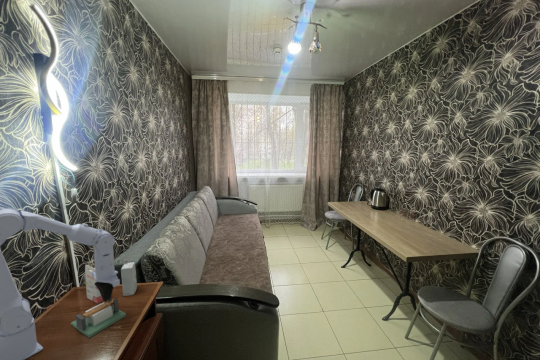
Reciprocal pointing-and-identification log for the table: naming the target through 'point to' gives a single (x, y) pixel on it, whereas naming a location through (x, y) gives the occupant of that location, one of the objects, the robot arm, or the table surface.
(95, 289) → the ink cartridge box
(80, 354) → the table surface
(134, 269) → the skincare box
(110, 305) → the strap
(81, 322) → the board
